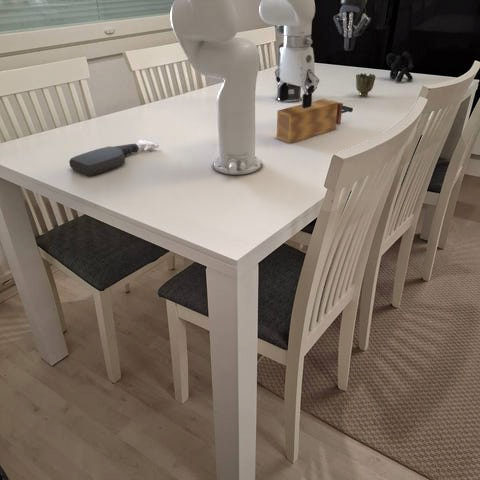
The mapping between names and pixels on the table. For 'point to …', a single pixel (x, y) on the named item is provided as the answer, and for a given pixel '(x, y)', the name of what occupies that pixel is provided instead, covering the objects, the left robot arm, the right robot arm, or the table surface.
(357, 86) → the cup
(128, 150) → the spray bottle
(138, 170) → the table surface
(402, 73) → the squiggle
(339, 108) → the drawer
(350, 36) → the right robot arm
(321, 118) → the cabinet
